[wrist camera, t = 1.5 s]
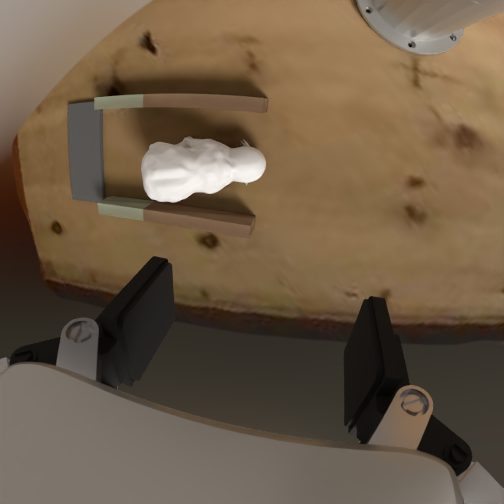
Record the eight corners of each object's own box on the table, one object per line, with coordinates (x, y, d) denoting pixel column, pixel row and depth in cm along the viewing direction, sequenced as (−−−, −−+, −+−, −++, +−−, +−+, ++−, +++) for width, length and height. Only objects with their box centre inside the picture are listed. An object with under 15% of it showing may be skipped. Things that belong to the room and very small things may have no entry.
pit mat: (70, 104, 33) (67, 104, 32) (102, 100, 32) (100, 100, 31) (75, 197, 39) (72, 199, 39) (105, 201, 39) (103, 203, 38)
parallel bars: (108, 96, 32) (94, 97, 29) (268, 98, 29) (263, 98, 26) (111, 205, 39) (98, 213, 36) (254, 227, 36) (249, 238, 34)
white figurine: (129, 149, 25) (261, 139, 24) (162, 137, 33) (266, 130, 32) (138, 213, 28) (263, 210, 27) (168, 188, 36) (268, 185, 35)
